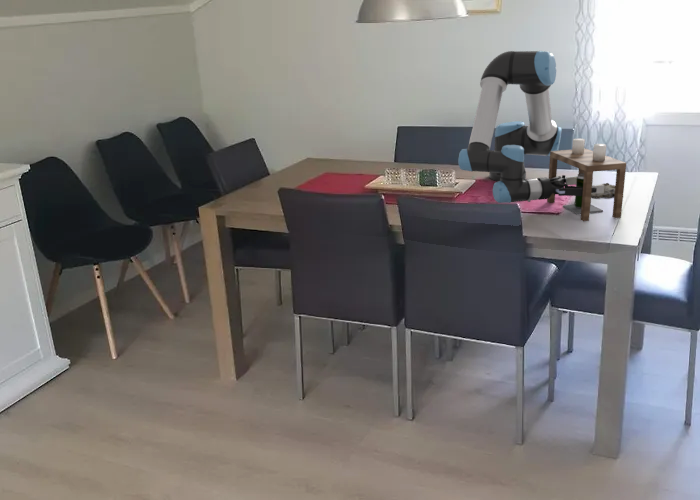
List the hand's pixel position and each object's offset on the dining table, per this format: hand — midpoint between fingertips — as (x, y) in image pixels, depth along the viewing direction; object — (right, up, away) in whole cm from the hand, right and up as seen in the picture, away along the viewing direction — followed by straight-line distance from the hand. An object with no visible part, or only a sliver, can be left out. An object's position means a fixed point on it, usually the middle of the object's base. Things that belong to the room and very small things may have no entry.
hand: (592, 184), depth 253 cm
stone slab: (+12, -2, +23) cm, 26 cm away
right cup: (-1, +7, -9) cm, 12 cm away
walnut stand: (-3, -9, +2) cm, 10 cm away
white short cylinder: (-5, +11, +2) cm, 12 cm away
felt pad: (-3, -9, +2) cm, 10 cm away
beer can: (-3, -8, +2) cm, 9 cm away
